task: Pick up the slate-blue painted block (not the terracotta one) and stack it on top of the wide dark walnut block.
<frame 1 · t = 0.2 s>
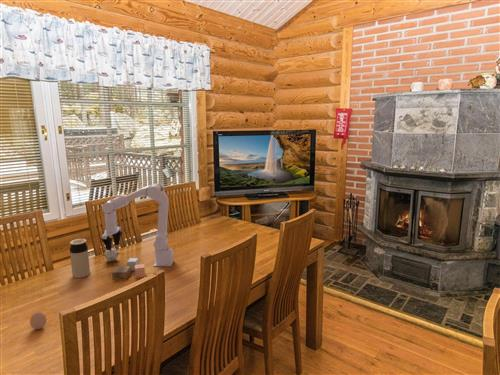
hand: (113, 247, 180), 10 cm above the table, tool pointing down, fingers open, 7 cm apart
egg: (39, 328, 126), on the table
pale grey round lump: (111, 261, 187), on the table
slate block: (133, 268, 178), on the table
terracotta block: (140, 275, 170), on the table
walnut base: (121, 276, 169), on the table
travel mug: (81, 275, 170), on the table
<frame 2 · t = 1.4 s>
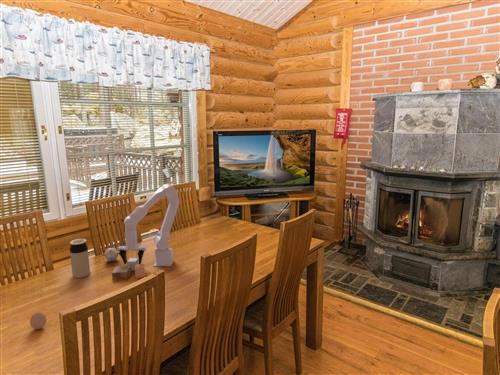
hand: (132, 263, 177), 3 cm above the table, tool pointing down, fingers open, 7 cm apart
nothing on the table moved.
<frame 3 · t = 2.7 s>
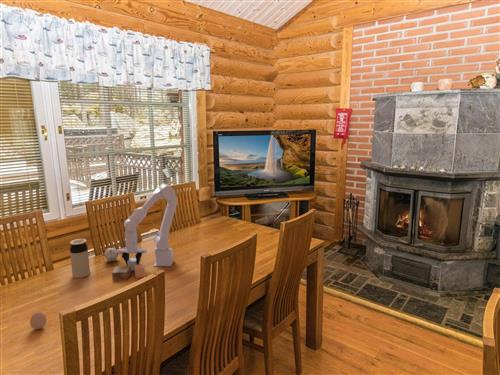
hand: (133, 266, 177), 1 cm above the table, tool pointing down, fingers closed on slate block, 4 cm apart
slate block: (133, 268, 178), on the table, touching gripper
everything else where it was.
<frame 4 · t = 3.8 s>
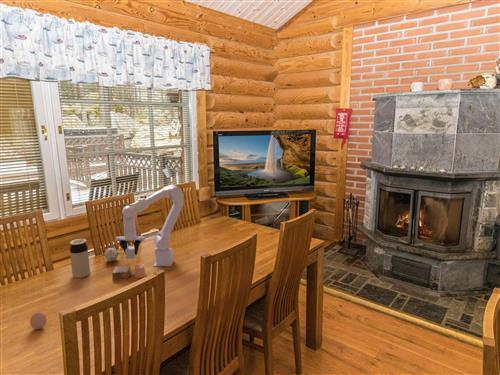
hand: (131, 254, 175), 8 cm above the table, tool pointing down, fingers closed on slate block, 4 cm apart
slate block: (131, 256, 176), point 7 cm above the table, touching gripper
everything else where it was.
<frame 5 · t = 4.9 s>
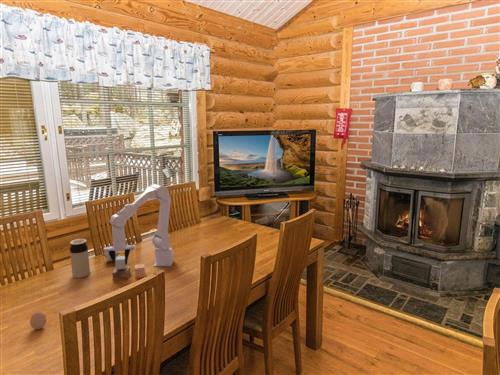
hand: (120, 264, 168), 6 cm above the table, tool pointing down, fingers closed on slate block, 4 cm apart
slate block: (121, 267, 168), point 5 cm above the table, touching gripper
everything else where it was.
when the fingers open (6 cm above the table, at t = 5.4 s): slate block drops 1 cm, point 4 cm above the table.
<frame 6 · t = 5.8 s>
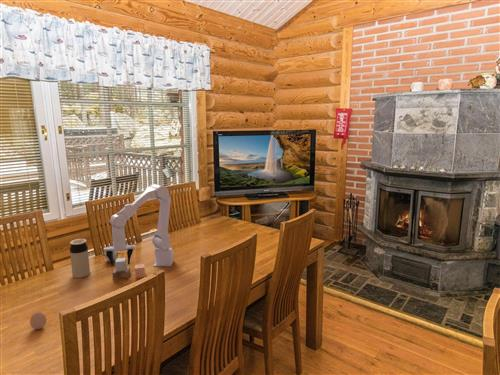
hand: (120, 264, 168), 6 cm above the table, tool pointing down, fingers open, 7 cm apart
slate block: (121, 269, 168), point 4 cm above the table
everything else where it was.
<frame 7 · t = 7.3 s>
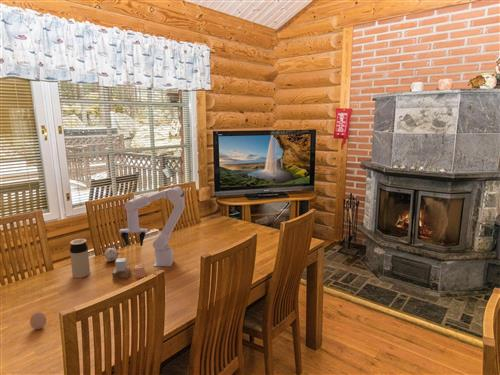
hand: (134, 245, 183), 10 cm above the table, tool pointing down, fingers open, 7 cm apart
nothing on the table moved.
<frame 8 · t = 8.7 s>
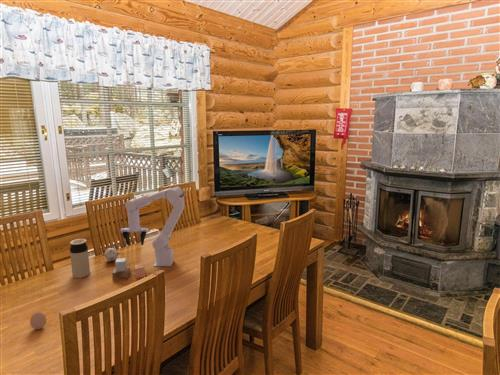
hand: (135, 244, 185), 10 cm above the table, tool pointing down, fingers open, 7 cm apart
nothing on the table moved.
at the end: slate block 0.1 cm off-centre on the walnut base, point 4.0 cm above the walnut base's base; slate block tilted 0°; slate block touching walnut base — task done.
